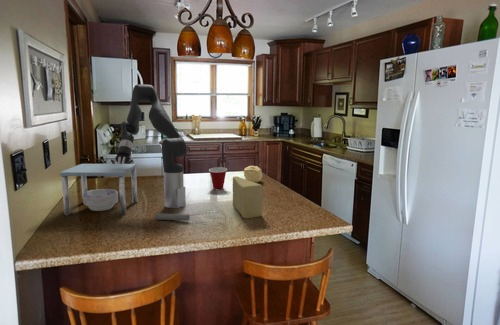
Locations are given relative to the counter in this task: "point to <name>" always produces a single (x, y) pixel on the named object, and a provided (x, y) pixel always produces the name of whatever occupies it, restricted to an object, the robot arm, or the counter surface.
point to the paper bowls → (100, 199)
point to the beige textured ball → (253, 174)
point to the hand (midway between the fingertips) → (119, 174)
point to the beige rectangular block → (247, 197)
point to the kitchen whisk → (184, 217)
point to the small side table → (100, 170)
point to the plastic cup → (218, 177)
